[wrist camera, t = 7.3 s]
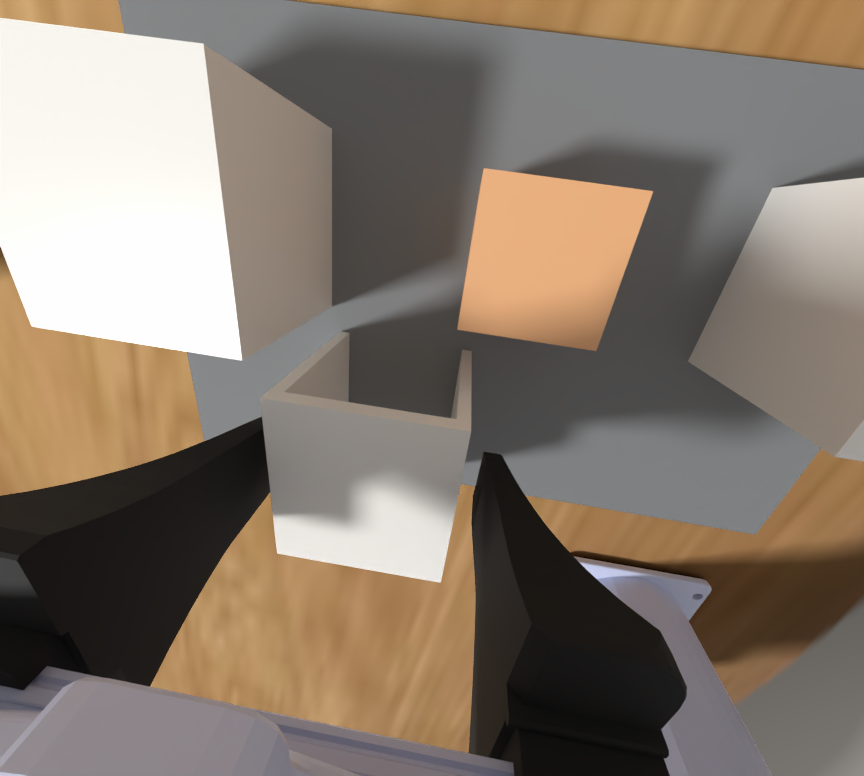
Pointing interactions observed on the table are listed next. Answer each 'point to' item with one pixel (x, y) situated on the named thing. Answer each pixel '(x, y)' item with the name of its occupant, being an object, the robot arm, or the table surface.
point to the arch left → (158, 192)
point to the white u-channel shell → (362, 470)
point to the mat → (552, 157)
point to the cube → (548, 257)
